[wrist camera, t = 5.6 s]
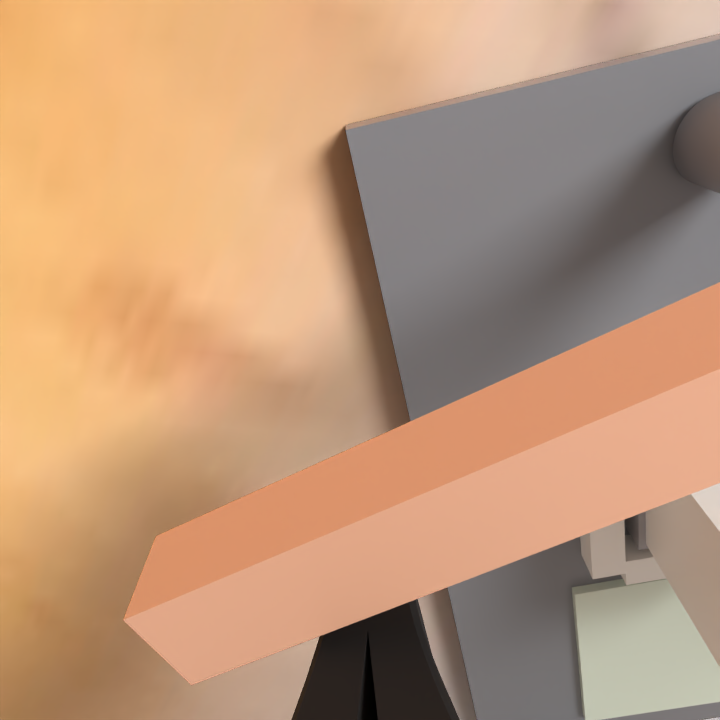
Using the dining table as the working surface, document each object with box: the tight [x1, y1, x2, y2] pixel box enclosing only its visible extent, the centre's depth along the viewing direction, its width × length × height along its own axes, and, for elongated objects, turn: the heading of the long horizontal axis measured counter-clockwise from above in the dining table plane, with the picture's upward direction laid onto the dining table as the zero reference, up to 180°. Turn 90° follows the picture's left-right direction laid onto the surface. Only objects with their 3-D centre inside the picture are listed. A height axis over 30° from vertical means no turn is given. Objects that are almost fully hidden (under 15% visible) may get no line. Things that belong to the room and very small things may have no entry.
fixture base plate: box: [346, 34, 720, 720], centre depth 18 cm, size 16×24×2 cm, turn 13°
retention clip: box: [123, 92, 720, 685], centre depth 11 cm, size 2×13×8 cm, turn 118°
